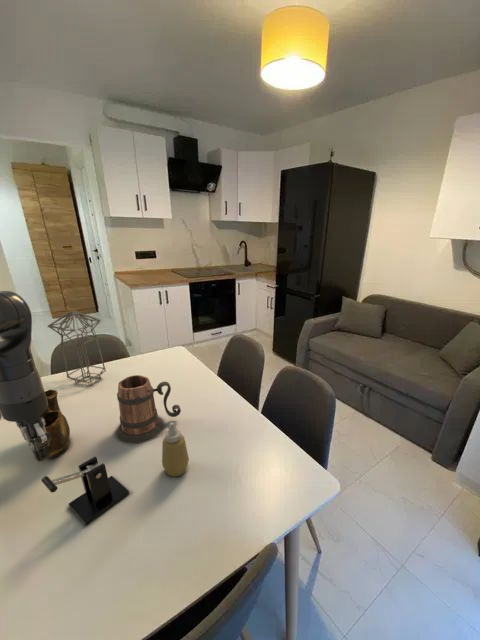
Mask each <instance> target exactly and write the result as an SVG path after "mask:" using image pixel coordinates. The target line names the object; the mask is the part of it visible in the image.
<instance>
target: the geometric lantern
mask: <svg viewBox="0 0 480 640" xmlns="http://www.w3.org/2000/svg"><path fill="white" fill-rule="evenodd" d="M62 319H63V320H62ZM61 320H62V321H61ZM59 321H61V322H59ZM78 321H79V322H80V324H81V326H82V327H79V324H78V323H79V322H78ZM94 321H95V322H94ZM101 321H102V319H100V318H97V317H94V316H92V315H89V314H86V313H83V312H80V311H77V310H70V311H69V312H67V313H66V314H64V315H62V316H61V317H59V318H58V319H56V320H55V321H53V322H51V323H49V324H48V325H47V328H49V329H50V330H52V331H54V332H55V333H57V334H58V335H59V336H60V342H59V343H60V347H61V352H62V357H63V362H64V363H63V364H64V368H65V373H66V378H67V379H69V380H72V381H74V384H75V385H78V386H79V385H80V386H84V387H85V386H86V387H90V386H92V385H94V384H96V383H97V382H99V381H101V380H102V377H101V376H102V375H103V374H104V373H106V372H107V369H106V366H105V363H104V359H103V354H102V351H101V348H100V343H99V340H98V336H97V335H98V334H97V333H96V331H95V328H96V327H97V326H98V325H99V324H100V323H101ZM57 322H58V323H57ZM75 322H76V326H77V331H78V332H80V334H79V333H78V332H77V331H76V326H75ZM90 323H91V324H90ZM64 324H65V325H64ZM71 324H72V327H70V326H71ZM58 325H59V326H58ZM63 325H64V327H63ZM88 328H90V330H89V331H88V330H87V329H88ZM56 329H57V330H56ZM66 331H67V333H65V332H66ZM73 332H74V333H75V334H74V335H71V334H72V333H73ZM90 333H92V334H90ZM69 335H71V336H69ZM64 336H66V338H64ZM79 336H81V340H82V341H81V343H80V337H79ZM74 337H76V338H77V343H76V342H75V341H74V340H73V339H72V338H74ZM86 337H93V338H91V339H90V340H87V341H85V339H86ZM66 340H70V342H71V343H67V342H64V341H66ZM94 340H95V344H96V347H97V350H98V354H99V357H100V360H101V363H102V367H101V366H96V365H90V360H89V356H88V352H87V348H86V344H88V343H90V342H92V341H94ZM65 345H71V346H75V349H76V352H77V358H78V362H79V366H80V367H79V368H77V369H75V370H73V371H72V372H70V373H69V371H68V363H67V358H66V352H65V351H66V349H65ZM84 362H85V365H84ZM90 367H91V368H95V369H96V368H97V369H102V370H101V371H100V372H99V373H96V372H90V369H89V368H90ZM85 368H86V370H87V371H85ZM78 371H80V372H81V375H80V376H78V377H71V376H70V375H72V374H74V373H76V372H78ZM93 375H94V376H93ZM81 377H82V378H81ZM79 378H81V379H79ZM85 378H88V379H85ZM96 379H97V380H96ZM95 380H96V381H95ZM93 381H94V382H93ZM79 382H80V383H79ZM92 382H93V383H92ZM82 383H86V384H82Z"/></svg>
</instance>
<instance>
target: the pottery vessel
mask: <svg viewBox="0 0 480 640" xmlns="http://www.w3.org/2000/svg"><path fill="white" fill-rule="evenodd" d="M44 391H45V394H46V398H47V401H48V408H47V409H46V410H45V411H44V412H43V413H42V414H41V415H40V418H41V417H43V418H44V420H45V423H46V424H45V429H46V432H49V433H51V441H50V445H49V446H46V448H47V451H48V454H49V457H48V458H55V457H58V456H60V455H63V454H64V453H66V452H67V450H69V448H70V447H71V439H70V437H71V433H70V432H71V429H70V425H69V422H68V420H67V417H66V416H65V415H64V414H63V412H62V411H61V408H60V406H59V405H60V404H59V401H58V394H59V392H58V390H56V389H48V390H44Z"/></svg>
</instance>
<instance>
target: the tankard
mask: <svg viewBox="0 0 480 640" xmlns="http://www.w3.org/2000/svg"><path fill="white" fill-rule="evenodd" d="M117 386H118V387H117V393H116V399H117V401H118V409H119V423H120V424H119V426H118V427H117V429H116V430H115V431H116V432H115V435H116V438H117V439H118V440H119V441H121V442H123V443H125V444H139V443H140V444H141V443H145V442H148V441H150V440H153V439H155V438H156V437H158V435H160V434H161V433H162V431H163V430H164V428H165V421H164V420H163V419H162V418H161V417H160V416H158V409H157V408H156V402H155V397H154V393H155V392H157V393H158V394H159V395H160V396H163V395H164V396H163V406H164V410H165V413H166V414H167V416H168V417H171V418H177V417H178V416H179V415H180V414H181V411H182V409H181V406H180V405H179V404H173V406H172V407H171V410H172V411H170V410H169V409H168V405H167V400H168V398H169V396H170V394H171V391H172V388H171V384H170V383H169V381H161V382H159V383H158V385H157V386H156V388H154V387H153V386H152V384H151V381H150V379H149V378H148V377H147V376H144V375H139V374H134V375H130V376H127V377H125V378H123V379H121V380H120V381H119V382H118V384H117ZM163 387H167V389H166V392H165V393H164V392H163Z"/></svg>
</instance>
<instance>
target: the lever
mask: <svg viewBox="0 0 480 640" xmlns="http://www.w3.org/2000/svg"><path fill="white" fill-rule="evenodd" d="M99 465H100V464H99V462H98V463H95V464H91V465H88V466H86V470H84V471H77V472H74V473H71V474H68V475H64V476H60V477H58V478H55V479H51V478H50V477H49V476H47V475H45V476H43V477H42V478H41V483H42V484H43V485H44V486H45V487H46V488H47V490H48V491H49V492H50V493H55V492H57V491H58V485H61V484H65V483H68V482H70V481H73V480H77V479H79V478H81V477H83V476H86V473H87V472H89V471H91V470H92V469H94V468H96V467H97V466H99Z"/></svg>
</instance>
